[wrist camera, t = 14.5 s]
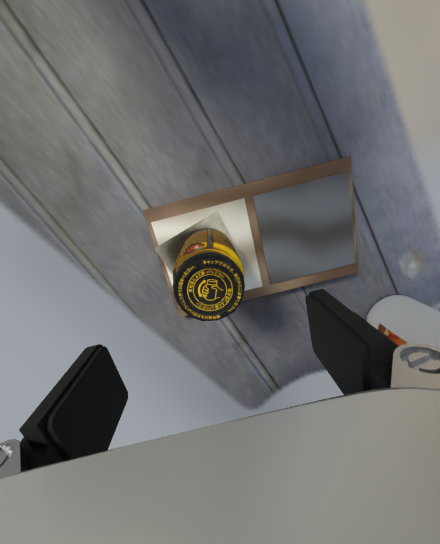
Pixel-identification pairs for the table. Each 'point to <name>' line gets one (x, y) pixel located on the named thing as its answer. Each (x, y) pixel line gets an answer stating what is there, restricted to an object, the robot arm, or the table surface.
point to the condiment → (205, 269)
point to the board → (276, 227)
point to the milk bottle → (406, 321)
